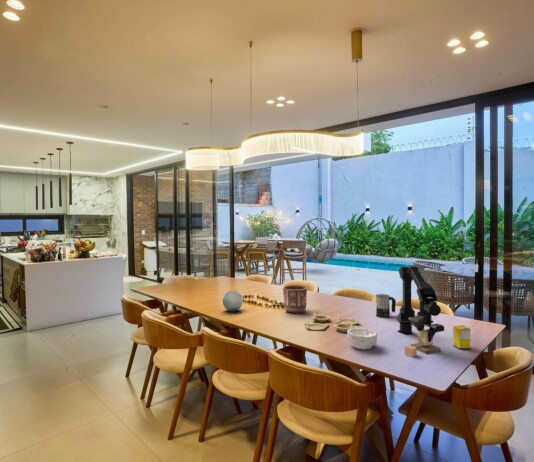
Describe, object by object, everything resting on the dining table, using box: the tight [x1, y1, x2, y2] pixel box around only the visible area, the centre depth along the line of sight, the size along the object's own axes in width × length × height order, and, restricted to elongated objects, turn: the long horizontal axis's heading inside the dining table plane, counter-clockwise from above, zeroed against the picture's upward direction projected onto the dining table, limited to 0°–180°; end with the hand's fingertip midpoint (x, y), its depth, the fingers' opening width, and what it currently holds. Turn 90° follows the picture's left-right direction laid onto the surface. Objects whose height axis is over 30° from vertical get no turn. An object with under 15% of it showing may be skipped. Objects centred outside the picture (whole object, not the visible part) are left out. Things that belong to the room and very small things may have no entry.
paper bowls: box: [346, 327, 378, 350], centre depth 182 cm, size 15×15×8 cm
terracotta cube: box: [404, 344, 418, 358], centre depth 170 cm, size 4×4×4 cm
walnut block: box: [410, 342, 441, 355], centre depth 178 cm, size 10×10×2 cm
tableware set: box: [303, 312, 361, 333], centre depth 219 cm, size 35×29×4 cm
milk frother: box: [375, 293, 397, 319], centre depth 242 cm, size 14×16×15 cm
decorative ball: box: [222, 290, 244, 312], centre depth 255 cm, size 15×15×15 cm
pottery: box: [282, 284, 308, 315], centre depth 253 cm, size 18×18×18 cm
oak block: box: [417, 329, 434, 345], centre depth 177 cm, size 5×5×6 cm
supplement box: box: [452, 324, 471, 350], centre depth 179 cm, size 6×6×11 cm
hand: (425, 340), depth 177 cm, fingers closed on oak block, 5 cm apart
